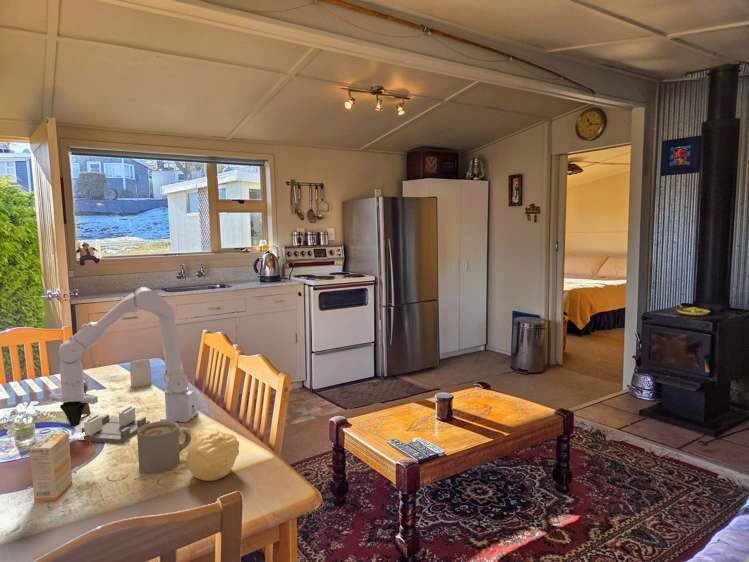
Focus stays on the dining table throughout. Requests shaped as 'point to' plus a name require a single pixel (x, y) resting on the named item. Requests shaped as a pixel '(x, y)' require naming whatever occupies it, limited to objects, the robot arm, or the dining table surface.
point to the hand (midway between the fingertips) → (75, 425)
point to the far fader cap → (127, 416)
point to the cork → (87, 408)
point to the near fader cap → (93, 425)
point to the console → (115, 430)
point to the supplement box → (51, 467)
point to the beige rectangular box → (140, 373)
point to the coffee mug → (160, 446)
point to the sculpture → (212, 455)
